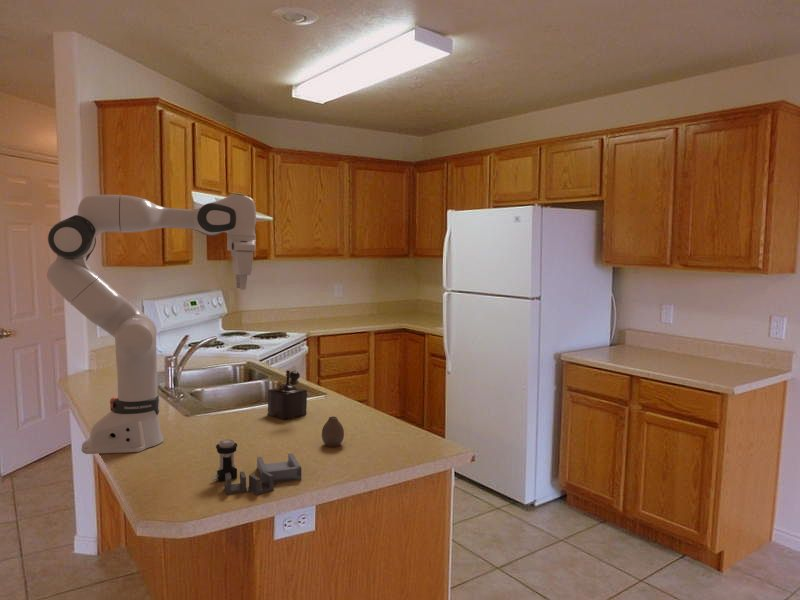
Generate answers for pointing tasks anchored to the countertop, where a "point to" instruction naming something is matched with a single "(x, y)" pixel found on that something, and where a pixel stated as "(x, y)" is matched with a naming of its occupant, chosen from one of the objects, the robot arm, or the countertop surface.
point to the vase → (332, 432)
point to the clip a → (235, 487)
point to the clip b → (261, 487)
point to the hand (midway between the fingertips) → (241, 288)
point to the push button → (226, 459)
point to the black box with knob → (287, 399)
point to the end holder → (281, 469)
